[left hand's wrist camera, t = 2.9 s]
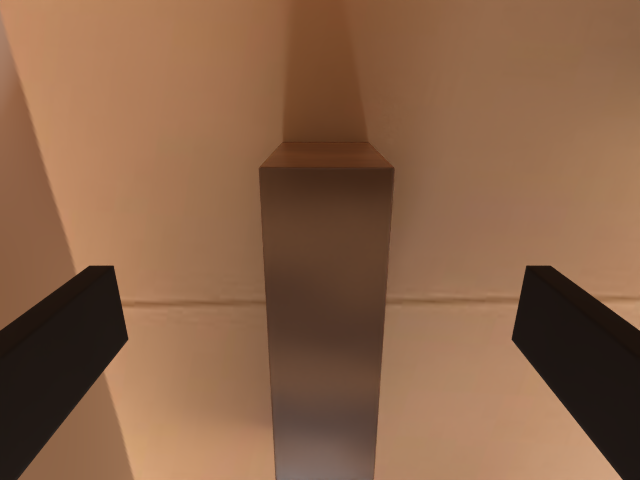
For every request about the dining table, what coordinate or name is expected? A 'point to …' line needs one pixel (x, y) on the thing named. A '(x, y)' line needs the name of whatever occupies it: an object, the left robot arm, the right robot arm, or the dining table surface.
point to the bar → (325, 304)
